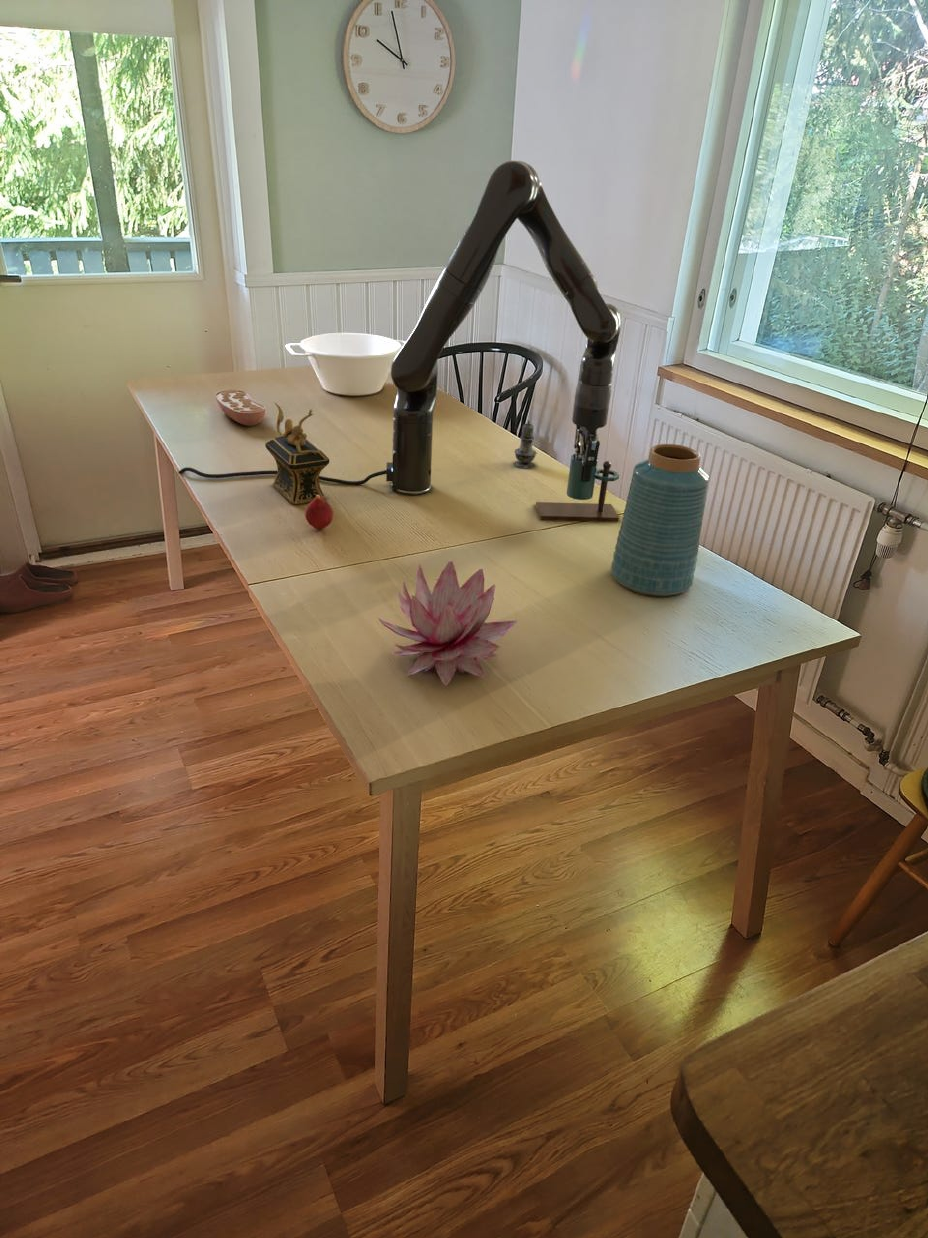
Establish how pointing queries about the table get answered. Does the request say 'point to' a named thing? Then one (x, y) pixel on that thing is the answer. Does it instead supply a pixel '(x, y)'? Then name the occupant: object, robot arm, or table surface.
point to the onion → (319, 513)
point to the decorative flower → (450, 624)
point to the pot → (350, 361)
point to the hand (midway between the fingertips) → (582, 475)
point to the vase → (662, 522)
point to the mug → (584, 489)
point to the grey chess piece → (525, 448)
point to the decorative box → (296, 462)
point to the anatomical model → (240, 407)
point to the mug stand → (580, 507)
